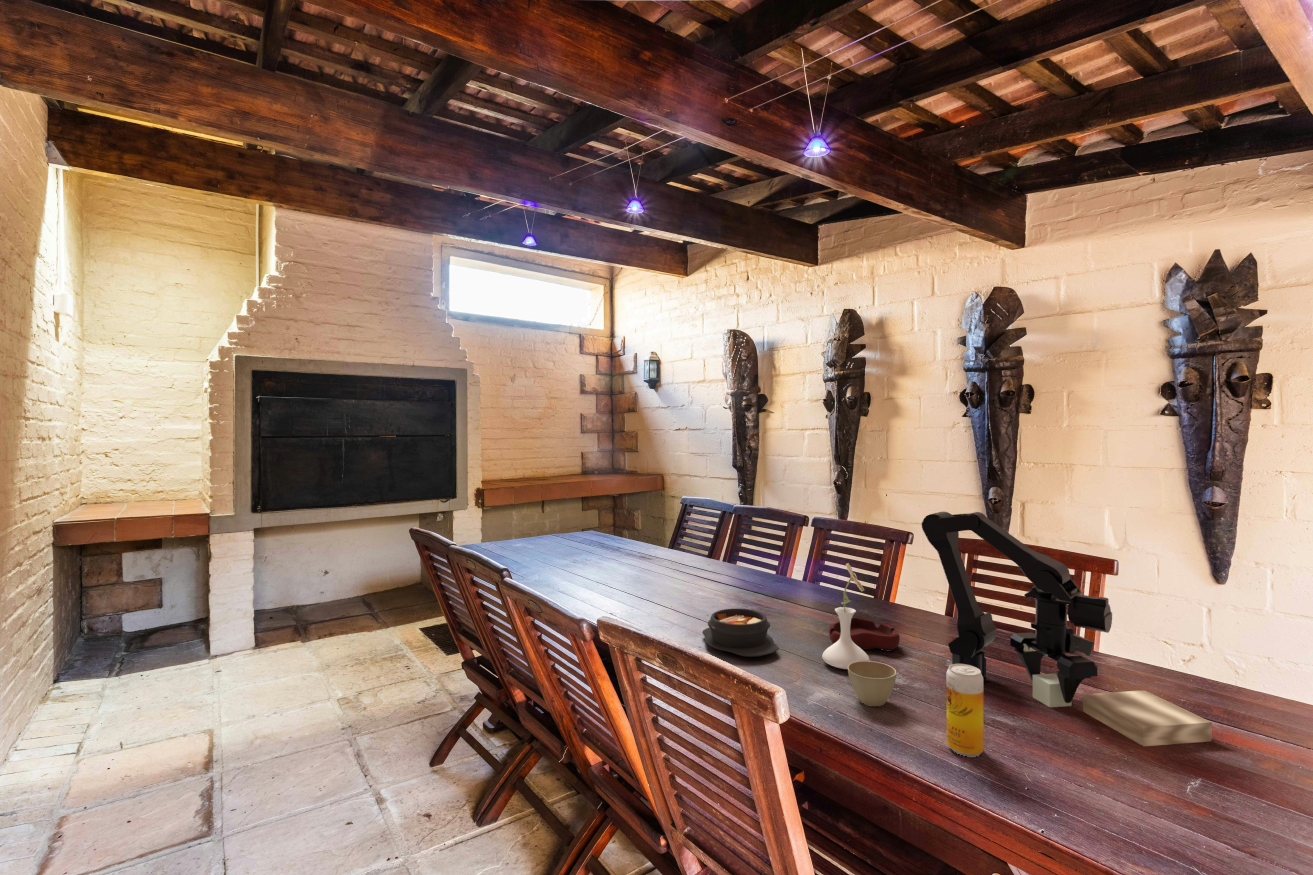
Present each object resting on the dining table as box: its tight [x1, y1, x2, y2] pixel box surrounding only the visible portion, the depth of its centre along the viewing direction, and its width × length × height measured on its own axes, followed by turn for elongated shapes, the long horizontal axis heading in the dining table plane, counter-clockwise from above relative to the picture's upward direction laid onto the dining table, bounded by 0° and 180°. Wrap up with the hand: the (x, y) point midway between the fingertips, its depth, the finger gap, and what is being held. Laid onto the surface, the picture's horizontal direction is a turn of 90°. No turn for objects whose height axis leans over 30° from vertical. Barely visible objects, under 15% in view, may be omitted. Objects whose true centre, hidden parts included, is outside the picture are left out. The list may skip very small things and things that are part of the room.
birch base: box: [1082, 689, 1213, 747], centre depth 121 cm, size 14×14×4 cm
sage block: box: [1032, 672, 1073, 708], centre depth 132 cm, size 5×5×5 cm
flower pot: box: [847, 660, 897, 707], centre depth 133 cm, size 10×10×7 cm
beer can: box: [945, 664, 985, 758], centre depth 113 cm, size 6×6×15 cm
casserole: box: [702, 608, 780, 658], centre depth 167 cm, size 25×19×8 cm
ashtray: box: [828, 616, 901, 651], centre depth 168 cm, size 18×16×5 cm
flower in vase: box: [821, 562, 871, 670], centre depth 154 cm, size 13×11×25 cm
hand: (1051, 692), depth 132 cm, fingers open, 9 cm apart
